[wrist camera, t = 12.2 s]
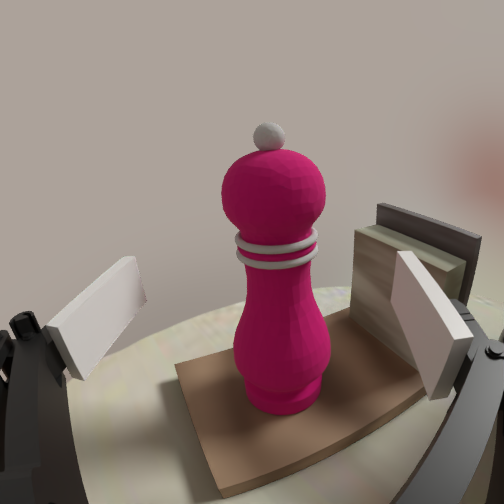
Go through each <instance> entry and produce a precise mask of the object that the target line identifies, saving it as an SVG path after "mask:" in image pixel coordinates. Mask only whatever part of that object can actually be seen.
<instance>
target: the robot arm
mask: <svg viewBox="0 0 504 504" xmlns="http://www.w3.org/2000/svg"><path fill="white" fill-rule="evenodd" d="M146 301H147V300H146V296H145V293H144V289H143V285H142V281H141V277H140V274H139V269H138V266H137V261H136V257H135V256H124V257H122V258H121V259H120V260H119V261H118V262H116V263H115V264H114V265H113V266H111V268H109V269H108V270H107V271H106V272H104V273H103V274H102V275H101V276H100V277H98V278H97V279H96V280H95V281H94V282H93V283H92V284H90V285H89V286H88V287H87V288H86V289H85V290H84V291H82V292H81V293H80V294H79V295H78V296H77V297H76V298H75V299H73V300H72V301H71V302H70V303H69V304H68V305H67V306H66V307H65V308H64V309H63V310H61V311H60V312H59V313H58V314H57V315H56V316H55V317H54V318H53V319H52V320H51V321H49V322H48V323H47V324H46V325H45V326H44V327H43V328H42V329H40V327H39V324H38V322H37V320H36V318H35V316H34V313H33V312H32V311H26V312H22V313H19V314H18V315H16V316H14V317H13V318H12V319H11V320H10V322H9V325H10V327H11V329H12V331H13V333H14V335H15V337H16V339H11V337H10V335H9V333H8V331H6V330H1V331H0V369H2V371H3V373H4V374H5V376H6V377H7V380H6V382H5V381H4V380H3V379H2V377H1V376H0V504H89V503H88V500H87V497H86V493H85V489H84V486H83V482H82V478H81V474H80V470H79V465H78V461H77V456H76V451H75V446H74V440H73V434H72V428H71V422H70V414H69V406H68V398H67V387H66V378H65V375H64V374H63V370H64V369H65V368H66V367H67V369H68V371H69V372H70V374H71V376H72V377H73V378H76V379H79V380H83V381H85V380H86V378H87V377H88V376H89V374H90V373H91V372H92V370H93V369H94V368H95V366H96V365H97V364H98V362H99V361H100V360H101V358H102V357H103V356H104V355H105V353H106V352H107V351H108V349H109V348H110V347H111V345H112V344H113V343H114V342H115V340H116V339H117V338H118V336H119V335H120V334H121V332H122V331H123V330H124V329H125V328H126V326H127V325H128V324H129V322H130V321H131V320H132V319H133V317H134V316H135V315H136V313H137V312H138V311H139V310H140V308H141V307H142V306H143V305H144V304H145V303H146ZM390 302H391V304H392V306H393V308H394V311H395V313H396V315H397V317H398V320H399V322H400V325H401V327H402V329H403V332H404V334H405V337H406V339H407V341H408V344H409V346H410V349H411V352H412V354H413V357H414V359H415V362H416V365H417V367H418V370H419V373H420V375H421V378H422V381H423V384H424V387H425V389H426V392H427V395H428V398H429V401H430V400H436V399H441V398H446V397H448V395H449V393H450V391H451V389H452V387H453V386H454V388H455V391H456V393H457V394H456V396H455V398H454V400H453V402H452V404H451V406H450V407H449V409H448V411H447V414H446V416H445V418H444V420H443V422H442V424H441V426H440V428H439V430H438V431H437V433H436V435H435V437H434V438H433V440H432V442H431V444H430V445H429V447H428V449H427V450H426V452H425V454H424V455H423V457H422V458H421V460H420V462H419V463H418V465H417V466H416V468H415V469H414V471H413V472H412V474H411V475H410V477H409V478H408V480H407V481H406V482H405V484H404V485H403V487H402V488H401V489H400V491H399V492H398V493H397V495H396V496H395V497H394V499H393V500H392V501H391V502H390V504H459V502H460V501H461V499H462V497H463V495H464V493H465V491H466V489H467V487H468V485H469V483H470V481H471V479H472V477H473V475H474V473H475V470H476V468H477V466H478V464H479V461H480V459H481V457H482V454H483V452H484V449H485V447H486V444H487V441H488V439H489V436H490V433H491V430H492V427H493V424H494V421H495V418H496V415H497V412H498V419H497V434H496V444H495V453H494V461H493V468H492V474H491V480H490V485H489V490H488V495H487V499H486V503H485V504H504V329H503V331H502V333H501V335H500V338H499V340H498V341H497V340H492V339H490V340H489V339H488V337H487V336H486V334H485V333H484V331H483V330H482V328H481V327H480V326H479V324H478V323H477V321H476V320H475V319H474V317H473V316H472V314H470V312H469V310H468V309H467V308H466V306H465V305H464V304H462V303H461V302H460V301H458V300H457V299H448V298H447V296H446V295H445V293H444V292H443V291H442V289H441V288H440V287H439V285H438V284H437V283H436V281H435V280H434V279H433V277H432V276H431V275H430V273H429V272H428V271H427V270H426V268H425V267H424V266H423V265H422V263H421V262H420V261H419V259H418V258H417V257H416V256H415V255H414V253H413V252H412V251H397V257H396V265H395V273H394V281H393V288H392V295H391V301H390Z"/></svg>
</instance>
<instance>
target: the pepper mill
mask: <svg viewBox="0 0 504 504" xmlns="http://www.w3.org/2000/svg"><path fill="white" fill-rule="evenodd" d="M253 138H254V143H255V145H256V147H257V148H258V149H259V151H256V152H253V153H250V154H248V155H245V156H243V157H241V158H240V159H238V160H237V161H236V162H234V163H233V164H232V166H231V167H230V168H229V169H228V171H227V173H226V175H225V176H224V180H223V184H222V192H221V195H222V204H223V210H224V212H225V214H226V216H227V218H228V219H229V220H230V221H231V222H232V223H233V224H234V225H235V226H236V227H237V228H238V229H239V230H240V231H239V232H238V233H237V234H236V236H235V242H236V244H237V247H238V249H237V252H236V254H237V258H238V259H239V260H240V261H241V262H242V263H244V264H245V269H246V275H247V297H246V304H245V307H244V310H243V313H242V316H241V318H240V321H239V324H238V326H237V329H236V332H235V337H234V343H233V349H234V361H235V364H236V367H237V369H238V371H239V372H240V374H241V375H242V376H243V377H244V382H245V388H246V394H247V397H248V399H249V401H250V402H251V403H252V404H253V405H254V406H255V407H256V408H258V409H260V410H261V411H263V412H266V413H269V414H275V415H289V414H295V413H298V412H300V411H303V410H305V409H306V408H308V407H309V406H311V405H312V404H313V403H314V402H315V401H316V400H317V398H318V396H319V394H320V391H321V383H322V373H323V372H324V370H325V369H326V367H327V365H328V363H329V359H330V354H331V347H330V336H329V332H328V329H327V325H326V323H325V321H324V319H323V316H322V314H321V312H320V310H319V308H318V306H317V304H316V301H315V299H314V296H313V292H312V288H311V278H310V266H311V260H312V259H313V258H314V257H315V256H316V255H317V253H318V246H317V244H316V240H317V238H318V232H317V231H316V229H314V228H313V227H312V225H313V223H314V222H315V221H316V220H317V218H318V217H319V216H320V214H321V213H322V211H323V209H324V206H325V197H326V192H325V185H324V181H323V177H322V175H321V173H320V171H319V170H318V168H317V166H316V165H315V164H314V163H313V162H312V161H311V160H310V159H308V158H307V157H305V156H304V155H301V154H300V153H297V152H294V151H290V150H284V149H280V148H281V147H282V146H283V144H284V142H285V134H284V131H283V130H282V128H281V127H280V126H278V125H277V124H275V123H271V122H268V123H263V124H261V125H259V126H258V127H257V128H256V130H255V132H254V136H253Z"/></svg>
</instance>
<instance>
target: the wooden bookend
mask: <svg viewBox="0 0 504 504" xmlns="http://www.w3.org/2000/svg"><path fill="white" fill-rule="evenodd" d="M354 238H355V239H354V259H353V275H352V289H351V301H350V307H348V308H346V309H343V310H341V311H338V312H336V313H333V314H331V315H328V316H325V317H323V319H324V321H325V323H326V325H327V329H328V332H329V336H330V347H331V354H330V359H329V363H328V365H327V367H326V369H325V370H324V372H323V373H322V383H321V391H320V394H319V396H318V398H317V400H316V401H315V402H314V403H313V404H312V405H311V406H309V407H308V408H306V409H305V410H303V411H300V412H298V413H295V414H289V415H275V414H269V413H266V412H263V411H261V410H260V409H258V408H256V407H255V406H254V405H253V404H252V403H251V402H250V401H249V399H248V397H247V394H246V388H245V382H244V377H243V376H242V375H241V374H240V372H239V371H238V369H237V367H236V364H235V361H234V349H233V348H231V349H228V350H225V351H221V352H218V353H214V354H211V355H207V356H204V357H200V358H197V359H193V360H189V361H185V362H182V363H178V364H174V365H175V368H176V372H177V375H178V379H179V382H180V385H181V388H182V392H183V395H184V398H185V401H186V404H187V407H188V410H189V413H190V416H191V419H192V422H193V425H194V428H195V430H196V433H197V436H198V439H199V441H200V444H201V447H202V449H203V452H204V455H205V457H206V460H207V462H208V465H209V467H210V470H211V472H212V475H213V477H214V479H215V482H216V484H217V487H218V489H219V491H220V493H221V495H222V496H223V498H228V497H231V496H234V495H237V494H240V493H243V492H246V491H249V490H252V489H255V488H258V487H260V486H263V485H266V484H268V483H271V482H274V481H276V480H279V479H281V478H283V477H286V476H288V475H291V474H293V473H295V472H297V471H300V470H302V469H304V468H306V467H308V466H311V465H313V464H315V463H317V462H319V461H321V460H323V459H325V458H327V457H329V456H331V455H333V454H335V453H336V452H338V451H340V450H342V449H344V448H346V447H347V446H349V445H351V444H353V443H355V442H356V441H358V440H360V439H361V438H363V437H365V436H366V435H368V434H370V433H371V432H373V431H375V430H376V429H378V428H379V427H381V426H382V425H384V424H385V423H387V422H388V421H390V420H391V419H393V418H394V417H396V416H397V415H399V414H400V413H402V412H403V411H404V410H406V409H407V408H409V407H410V406H411V405H413V404H414V403H415V402H417V401H418V400H419V399H421V398H422V397H423V396H425V395H426V394H427V392H426V389H425V387H424V384H423V381H422V378H421V375H420V373H419V370H418V367H417V365H416V362H415V359H414V357H413V354H412V352H411V349H410V346H409V344H408V341H407V339H406V337H405V334H404V332H403V329H402V327H401V325H400V322H399V320H398V317H397V315H396V313H395V311H394V308H393V306H392V304H391V302H390V301H391V295H392V288H393V281H394V273H395V265H396V257H397V251H412V252H413V253H414V255H415V256H416V257H417V258H418V259H419V261H420V262H421V263H422V265H423V266H424V267H425V268H426V270H427V271H428V272H429V273H430V275H431V276H432V277H433V279H434V280H435V281H436V283H437V284H438V285H439V287H440V288H441V289H442V291H443V292H444V293H445V295H446V296H447V298H448V299H457V300H458V301H460V302H461V303H462V304H464V305H465V306H467V302H468V299H469V295H470V290H471V287H472V283H473V279H474V274H475V270H476V265H477V261H478V255H479V250H480V245H481V239H482V236H480V235H477V234H474V233H472V232H469V231H466V230H464V229H461V228H458V227H455V226H453V225H450V224H447V223H444V222H441V221H438V220H436V219H433V218H430V217H427V216H424V215H421V214H418V213H415V212H411V211H408V210H405V209H402V208H399V207H396V206H392V205H389V204H386V203H380V204H377V219H376V225H373V226H369V227H365V228H361V229H357V230H355V235H354Z"/></svg>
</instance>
